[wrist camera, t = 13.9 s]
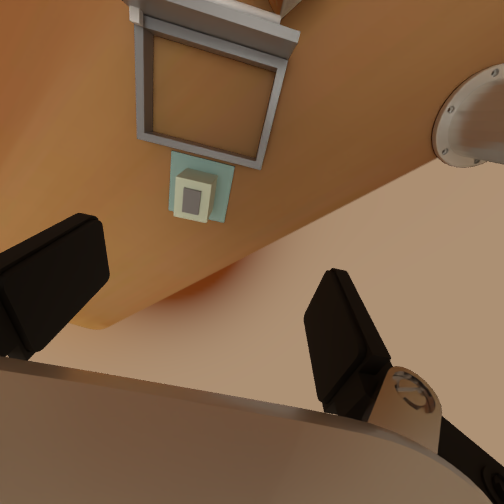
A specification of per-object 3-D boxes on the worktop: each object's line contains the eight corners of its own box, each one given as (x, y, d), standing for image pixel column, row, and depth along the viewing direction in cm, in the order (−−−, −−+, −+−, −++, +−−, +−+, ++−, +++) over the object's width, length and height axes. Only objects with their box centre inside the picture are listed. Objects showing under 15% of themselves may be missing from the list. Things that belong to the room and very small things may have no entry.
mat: (234, 166, 36) (234, 166, 36) (224, 222, 41) (224, 222, 41) (172, 150, 35) (171, 150, 35) (169, 209, 40) (168, 210, 40)
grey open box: (289, 48, 29) (303, 19, 20) (260, 166, 36) (261, 181, 28) (145, 2, 27) (93, -52, 18) (145, 136, 34) (109, 143, 26)
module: (217, 175, 37) (211, 185, 31) (212, 209, 40) (205, 224, 34) (187, 167, 36) (174, 177, 31) (184, 203, 39) (172, 217, 34)
